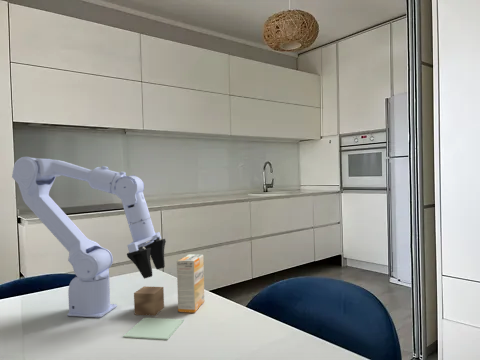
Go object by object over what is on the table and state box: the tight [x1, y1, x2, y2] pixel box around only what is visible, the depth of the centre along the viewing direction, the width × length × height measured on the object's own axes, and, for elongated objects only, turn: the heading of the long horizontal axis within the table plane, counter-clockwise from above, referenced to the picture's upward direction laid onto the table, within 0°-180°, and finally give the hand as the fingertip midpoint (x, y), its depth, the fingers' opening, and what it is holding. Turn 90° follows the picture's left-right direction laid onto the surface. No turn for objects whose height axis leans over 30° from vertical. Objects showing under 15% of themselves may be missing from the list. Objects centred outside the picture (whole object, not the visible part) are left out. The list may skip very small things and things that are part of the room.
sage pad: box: [123, 317, 185, 341], centre depth 80 cm, size 10×10×1 cm
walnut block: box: [133, 285, 165, 317], centre depth 91 cm, size 6×6×6 cm
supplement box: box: [176, 253, 205, 314], centre depth 93 cm, size 8×5×13 cm, turn 168°
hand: (154, 272), depth 91 cm, fingers open, 7 cm apart
